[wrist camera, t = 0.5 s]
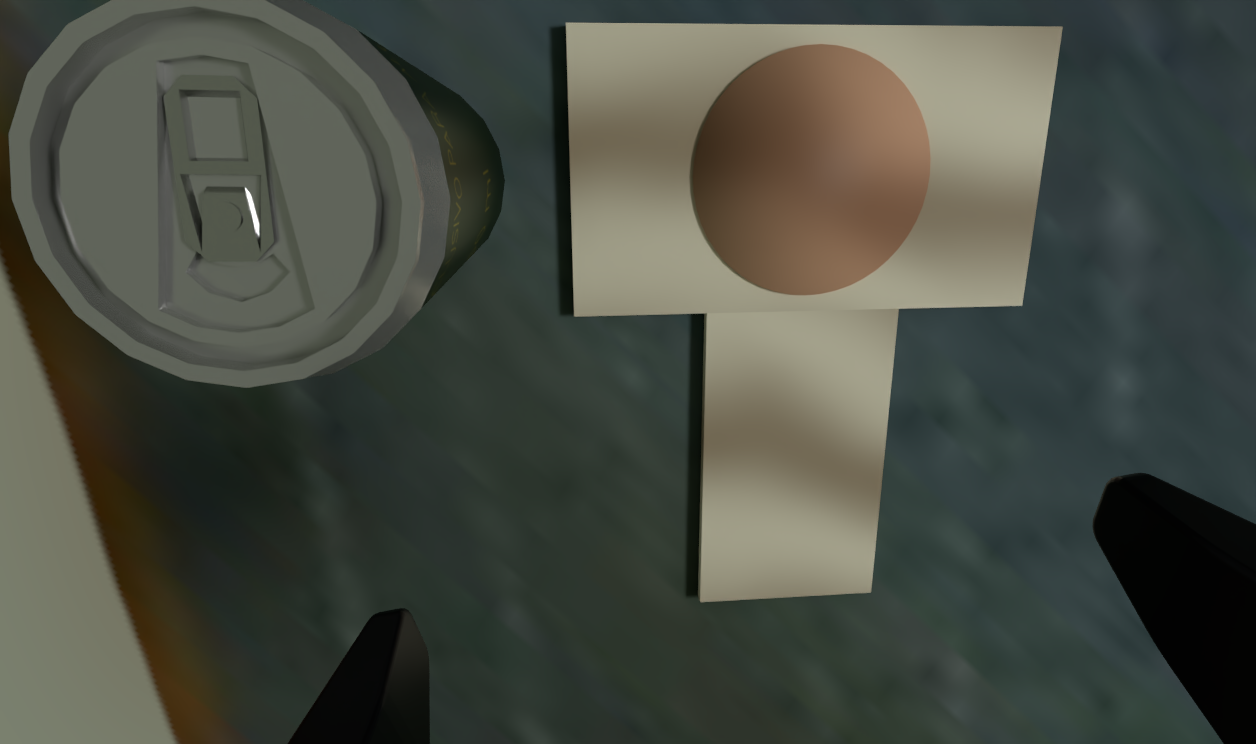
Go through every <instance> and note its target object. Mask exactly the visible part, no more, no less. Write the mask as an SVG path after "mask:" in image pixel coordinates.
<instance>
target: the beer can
mask: <svg viewBox="0 0 1256 744" xmlns="http://www.w3.org/2000/svg"><path fill="white" fill-rule="evenodd" d="M9 154H10V174H11V195H12V201H13V204H14V206H15V209H16V212H17V214H18V217H19V220H20V222H21V225H22V227H23V230H24V233H25V235H26V238H27V241H28V243H29V246H30V249H31V251H32V254H33V257H34V259H35V261H36V263H37V264H38V265H39V267H40V268H41V269H42V271H43V272H44V273H45V275H46V276H47V277H48V279H49V280H50V281H51V283H52V284H53V285H54V287H55V288H56V289H57V291H58V292H59V293H60V295H61V296H62V297H63V299H64V300H65V301H66V303H67V304H68V305H69V307H70V308H71V309H72V311H73V312H74V313H75V315H77V316H78V317H79V318H80V319H82V320H83V321H84V322H86V323H87V324H88V325H89V326H91V327H92V328H93V329H95V330H96V331H97V332H98V333H100V334H101V335H102V336H104V337H105V338H106V339H107V340H109V341H110V342H111V343H113V344H114V345H115V346H116V347H118V348H119V349H120V350H121V351H123V352H124V353H125V354H127V355H128V356H131V357H133V358H135V359H138V360H140V361H143V362H145V363H147V364H150V365H152V366H154V367H157V368H159V369H161V370H164V371H166V372H169V373H171V374H173V375H176V376H178V377H180V378H183V379H185V380H190V381H198V382H206V383H213V384H221V385H229V386H236V387H244V388H249V387H255V386H261V385H268V384H274V383H280V382H286V381H293V380H299V379H304V378H308V377H314V376H320V375H327V374H333V373H335V372H337V371H339V370H341V369H343V368H345V367H347V366H349V365H351V364H353V363H355V362H357V361H359V360H361V359H363V358H365V357H367V356H368V355H370V354H372V353H374V352H376V351H378V350H380V349H382V348H383V347H384V346H385V345H386V344H387V343H388V342H389V341H390V340H391V339H392V338H393V337H394V336H395V335H396V334H397V333H398V332H399V331H400V330H401V329H402V328H403V327H404V326H405V325H406V324H407V323H408V322H409V321H410V320H411V318H412V317H413V316H414V315H415V314H416V313H417V312H418V311H419V310H420V309H421V308H422V307H423V306H424V305H425V304H426V303H427V302H428V301H429V300H430V299H431V298H432V297H433V296H434V295H435V294H436V292H437V291H438V290H439V289H440V288H441V287H442V286H443V285H444V284H445V283H446V282H447V281H448V280H449V279H450V278H451V277H452V276H453V275H454V274H455V273H456V272H457V270H458V269H459V268H460V267H461V266H462V265H463V264H464V263H465V262H466V261H467V260H468V259H469V258H470V257H471V256H472V255H473V254H474V253H475V252H476V251H477V250H478V248H479V247H480V246H481V245H482V244H483V243H484V242H485V241H486V240H487V239H488V238H489V236H490V233H491V231H492V229H493V227H494V225H495V223H496V221H497V219H498V217H499V214H500V212H501V207H502V199H503V191H504V183H505V179H504V174H503V168H502V163H501V157H500V152H499V148H498V146H497V144H496V142H495V141H494V139H493V137H492V135H491V133H490V131H489V129H488V127H487V125H486V123H485V121H484V120H483V119H482V118H481V117H480V116H479V115H478V114H477V112H476V111H475V110H474V109H473V108H472V107H471V106H470V105H469V104H468V103H467V102H466V101H465V100H464V99H463V98H462V97H461V96H460V95H458V94H457V93H455V92H453V91H452V90H450V89H449V88H447V87H446V86H444V85H442V84H441V83H439V82H438V81H436V80H435V79H433V78H432V77H430V76H428V75H427V74H425V73H424V72H422V71H421V70H419V69H417V68H416V67H414V66H413V65H411V64H410V63H408V62H406V61H405V60H403V59H402V58H400V57H399V56H397V55H396V54H394V53H392V52H391V51H389V50H388V49H386V48H385V47H383V46H381V45H380V44H378V43H377V42H375V41H374V40H372V39H371V38H369V37H367V36H366V35H364V34H363V33H361V32H360V31H358V30H356V29H355V28H353V27H351V26H349V25H347V24H345V23H344V22H342V21H340V20H338V19H336V18H334V17H333V16H331V15H329V14H327V13H325V12H323V11H322V10H320V9H318V8H316V7H314V6H312V5H311V4H309V3H307V2H305V1H303V0H111V1H109V2H107V3H106V4H104V5H102V6H100V7H98V8H96V9H95V10H93V11H91V12H89V13H87V14H85V15H84V16H82V17H80V18H78V19H76V20H74V21H73V22H71V23H69V24H67V25H66V27H65V28H64V29H63V30H62V32H61V33H60V34H59V35H58V36H57V38H56V39H55V40H54V41H53V43H52V44H51V45H50V46H49V48H48V49H47V50H46V51H45V52H44V54H43V55H42V56H41V57H40V59H39V60H38V61H37V62H36V64H35V65H34V66H33V67H32V68H31V70H30V71H29V72H28V73H27V76H26V80H25V83H24V86H23V89H22V92H21V96H20V99H19V102H18V105H17V108H16V112H15V115H14V118H13V121H12V125H11V128H10V131H9Z"/></svg>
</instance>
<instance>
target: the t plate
mask: <svg viewBox="0 0 1256 744" xmlns="http://www.w3.org/2000/svg"><path fill="white" fill-rule="evenodd" d="M1062 28H1063V27H1035V26H910V25H785V24H661V23H566V48H567V83H568V119H569V155H570V190H571V226H572V262H573V297H574V317H578V316H619V315H660V314H701V313H704V349H703V394H702V438H701V483H700V527H699V571H698V597H699V600H700V602H712V601H729V600H747V599H765V598H782V597H800V596H818V595H835V594H853V593H871V587H872V577H873V567H874V556H875V546H876V536H877V526H878V515H879V505H880V495H881V485H882V474H883V464H884V454H885V444H886V434H887V423H888V413H889V403H890V393H891V382H892V372H893V362H894V352H895V342H896V331H897V321H898V311H899V309H906V308H947V307H988V306H1022V303H1023V296H1024V289H1025V282H1026V276H1027V269H1028V262H1029V255H1030V248H1031V241H1032V234H1033V227H1034V221H1035V214H1036V207H1037V200H1038V193H1039V186H1040V179H1041V172H1042V166H1043V159H1044V152H1045V145H1046V138H1047V131H1048V124H1049V117H1050V110H1051V104H1052V97H1053V90H1054V83H1055V76H1056V69H1057V62H1058V55H1059V49H1060V42H1061V35H1062Z"/></svg>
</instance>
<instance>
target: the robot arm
mask: <svg viewBox="0 0 1256 744" xmlns="http://www.w3.org/2000/svg"><path fill="white" fill-rule="evenodd" d="M1093 532H1094V535H1095V538H1096V540H1097V542H1098V544H1099V546H1100V547H1101V549H1102V551H1103V553H1104V555H1105V556H1106V558H1107V560H1108V562H1109V564H1110V565H1111V567H1112V569H1113V571H1114V572H1115V574H1116V576H1117V578H1118V580H1119V581H1120V583H1121V585H1122V587H1123V589H1124V590H1125V592H1126V594H1127V596H1128V597H1129V599H1130V601H1131V603H1132V605H1133V606H1134V608H1135V610H1136V612H1137V614H1138V615H1139V617H1140V619H1141V621H1142V622H1143V624H1144V626H1145V628H1146V630H1147V631H1148V633H1149V635H1150V636H1151V638H1152V639H1153V641H1154V643H1155V644H1156V646H1157V648H1158V649H1159V651H1160V652H1161V654H1162V655H1163V657H1164V658H1165V660H1166V661H1167V663H1168V664H1169V666H1170V667H1171V669H1172V670H1173V672H1174V673H1175V674H1176V676H1177V677H1178V679H1179V680H1180V682H1181V683H1182V684H1183V686H1184V687H1185V689H1186V690H1187V692H1188V693H1189V695H1190V696H1191V697H1192V699H1193V700H1194V702H1195V703H1196V705H1197V706H1198V707H1199V709H1200V710H1201V712H1202V713H1203V715H1204V716H1205V717H1206V719H1207V720H1208V722H1209V723H1210V725H1211V726H1212V728H1213V729H1214V730H1215V732H1216V733H1217V735H1218V736H1219V738H1220V739H1221V740H1222V742H1223V743H1224V744H1256V524H1254V523H1252V522H1250V521H1248V520H1246V519H1243V518H1241V517H1239V516H1237V515H1235V514H1233V513H1231V512H1229V511H1226V510H1224V509H1222V508H1220V507H1218V506H1216V505H1214V504H1212V503H1209V502H1207V501H1205V500H1203V499H1201V498H1199V497H1197V496H1195V495H1192V494H1190V493H1188V492H1186V491H1184V490H1182V489H1180V488H1178V487H1175V486H1173V485H1171V484H1169V483H1167V482H1165V481H1163V480H1161V479H1159V478H1156V477H1154V476H1152V475H1149V474H1146V473H1134V474H1129V475H1124V476H1118V477H1114V478H1112V479H1110V480H1109V481H1108V482H1107V484H1106V486H1105V488H1104V491H1103V494H1102V496H1101V499H1100V502H1099V505H1098V507H1097V510H1096V513H1095V516H1094V518H1093ZM288 744H430V709H429V656H428V651H427V647H426V644H425V642H424V640H423V638H422V636H421V634H420V632H419V630H418V627H417V625H416V623H415V621H414V619H413V617H412V615H411V613H410V612H409V611H408V610H407V609H405V608H400V609H394V610H389V611H384V612H379V613H376V614H374V615H373V616H372V617H371V618H370V619H369V620H368V622H367V623H366V625H365V626H364V628H363V629H362V631H361V632H360V634H359V636H358V637H357V639H356V640H355V642H354V643H353V645H352V646H351V648H350V649H349V651H348V652H347V654H346V655H345V657H344V658H343V660H342V661H341V663H340V664H339V666H338V668H337V669H336V671H335V672H334V674H333V675H332V677H331V678H330V680H329V681H328V683H327V684H326V686H325V687H324V689H323V690H322V692H321V693H320V695H319V696H318V698H317V700H316V701H315V703H314V704H313V706H312V707H311V709H310V710H309V712H308V713H307V715H306V716H305V718H304V719H303V721H302V722H301V724H300V725H299V727H298V729H297V730H296V732H295V733H294V735H293V736H292V738H291V739H290V741H289V742H288Z"/></svg>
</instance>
